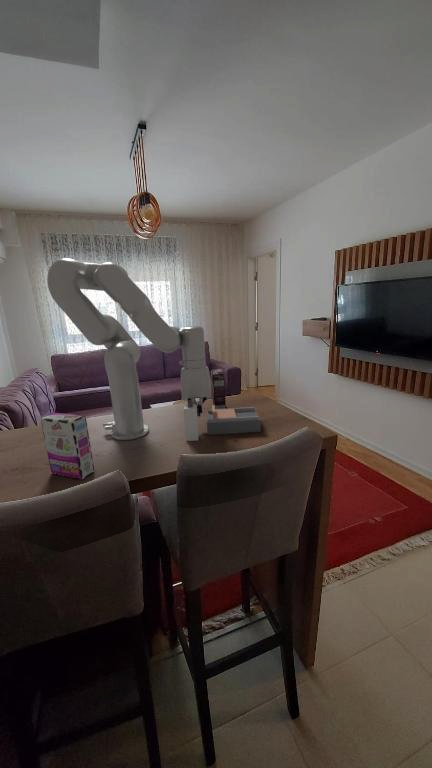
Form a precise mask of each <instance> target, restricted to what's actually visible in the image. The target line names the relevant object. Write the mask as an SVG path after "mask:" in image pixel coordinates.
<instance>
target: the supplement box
mask: <svg viewBox="0 0 432 768" xmlns="http://www.w3.org/2000/svg"><path fill="white" fill-rule="evenodd" d="M210 380H211V393H212V398H211V399H212V405H215V409H227V404H226V403H227V402H226V384H225V383H226V382H225V373H224V372H223V369H222V368H218V369H211V370H210Z"/></svg>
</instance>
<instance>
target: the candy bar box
mask: <svg viewBox="0 0 432 768" xmlns="http://www.w3.org/2000/svg"><path fill="white" fill-rule="evenodd" d="M40 423H41V427H42V428H41V429H42V432H43V438H44V442H45V448H46V453H47V457H48V463H49V468H50V472H52V473H56V474H60V475H64V476H63V477H65V476H69V477H68V478H70V477H75V478H80V479H79V480H81V479H83V478H84V479H86V478H88V475H89V474H90V475H91V473H92V472H93V473H94V472H95V465H94V459H93V453H92V448H91V447H92V446H91V442H90V435H89V430H88V429H89V428H88V423H87V415H80V414H72V413H62V412H61V413H60V412H53V413H51V414H48V415H46V416H43V417H41V418H40ZM93 473H92V474H93ZM60 475H59V476H60ZM90 475H89V476H90ZM85 477H86V478H85ZM75 478H74V479H75ZM84 479H83V480H84Z"/></svg>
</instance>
